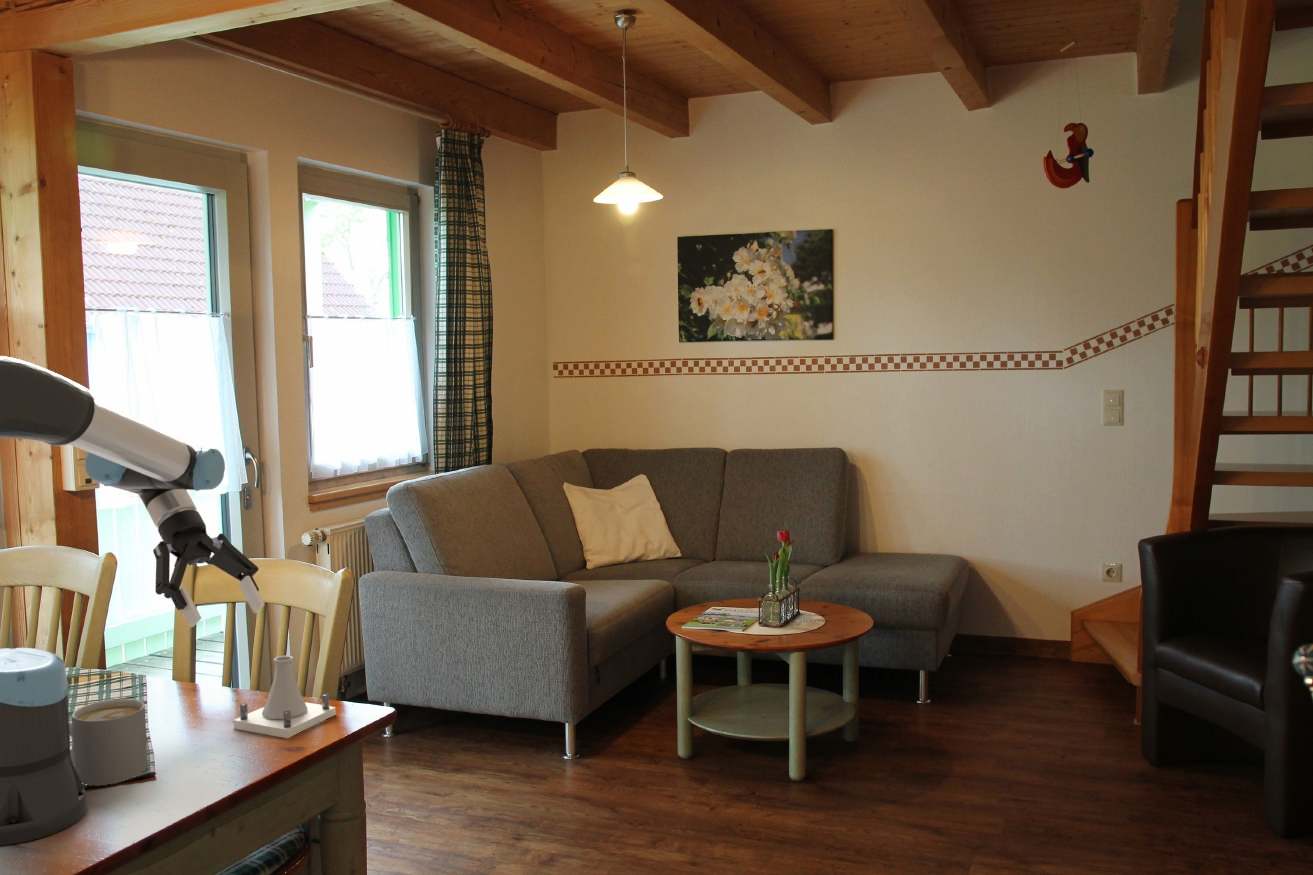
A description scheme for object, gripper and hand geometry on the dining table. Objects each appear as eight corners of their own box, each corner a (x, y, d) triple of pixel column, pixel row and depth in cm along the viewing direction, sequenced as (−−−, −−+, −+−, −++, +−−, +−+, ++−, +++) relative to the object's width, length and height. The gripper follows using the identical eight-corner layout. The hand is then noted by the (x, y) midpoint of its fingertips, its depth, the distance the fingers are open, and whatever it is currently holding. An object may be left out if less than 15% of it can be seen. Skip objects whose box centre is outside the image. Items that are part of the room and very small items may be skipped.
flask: (253, 716, 178) (252, 660, 177) (285, 703, 184) (284, 650, 183) (284, 723, 174) (282, 666, 174) (315, 710, 181) (314, 655, 180)
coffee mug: (160, 760, 162) (157, 699, 161) (123, 786, 152) (120, 721, 151) (80, 757, 163) (77, 697, 162) (38, 783, 153) (35, 719, 152)
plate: (288, 738, 172) (287, 729, 171) (233, 728, 176) (233, 719, 176) (335, 715, 183) (335, 707, 182) (283, 706, 187) (283, 698, 187)
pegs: (287, 728, 172) (287, 713, 172) (238, 719, 176) (238, 705, 176) (330, 707, 182) (330, 694, 182) (283, 699, 186) (283, 686, 186)
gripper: (223, 524, 200) (272, 614, 194) (103, 539, 178) (155, 641, 172) (244, 502, 197) (294, 592, 191) (124, 514, 175) (177, 616, 169)
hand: (228, 615), depth 182 cm, fingers open, 13 cm apart
